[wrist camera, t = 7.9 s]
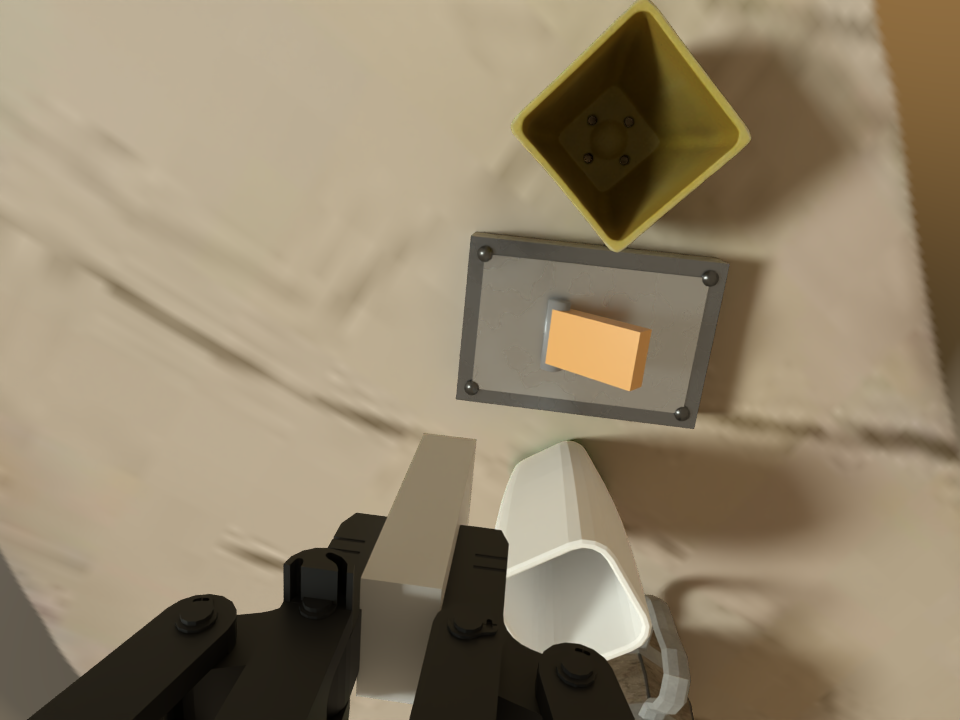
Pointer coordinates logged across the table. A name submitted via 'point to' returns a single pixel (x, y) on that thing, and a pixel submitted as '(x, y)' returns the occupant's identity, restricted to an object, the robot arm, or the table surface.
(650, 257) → the panel
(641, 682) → the mug
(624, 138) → the flower pot
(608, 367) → the paddle
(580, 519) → the cup
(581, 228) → the table surface
